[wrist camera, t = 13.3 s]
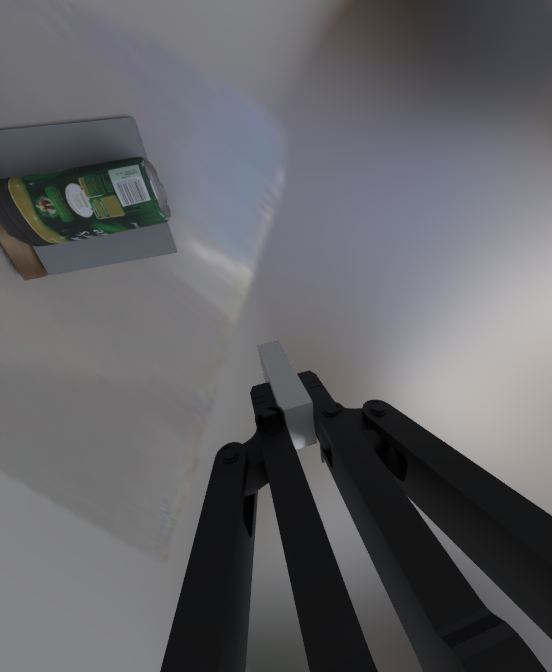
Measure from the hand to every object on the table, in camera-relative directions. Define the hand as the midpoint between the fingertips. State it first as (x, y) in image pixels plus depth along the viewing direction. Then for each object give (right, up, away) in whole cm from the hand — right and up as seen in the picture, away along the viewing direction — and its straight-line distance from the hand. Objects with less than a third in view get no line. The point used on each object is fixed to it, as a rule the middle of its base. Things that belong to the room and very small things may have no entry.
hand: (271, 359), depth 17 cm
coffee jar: (-15, +22, +16) cm, 31 cm away
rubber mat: (-28, +22, +19) cm, 40 cm away
